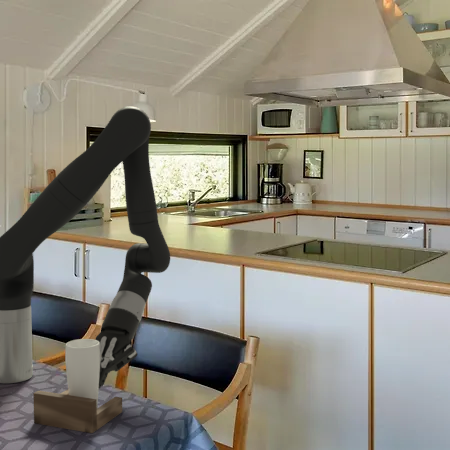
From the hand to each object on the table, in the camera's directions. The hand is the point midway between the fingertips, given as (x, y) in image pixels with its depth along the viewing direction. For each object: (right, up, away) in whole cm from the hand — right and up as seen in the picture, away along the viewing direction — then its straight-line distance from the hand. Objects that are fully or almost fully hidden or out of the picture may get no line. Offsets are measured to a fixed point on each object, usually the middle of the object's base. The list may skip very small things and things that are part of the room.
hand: (94, 386), depth 127 cm
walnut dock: (-2, -5, -5) cm, 7 cm away
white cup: (-1, -5, -5) cm, 7 cm away
